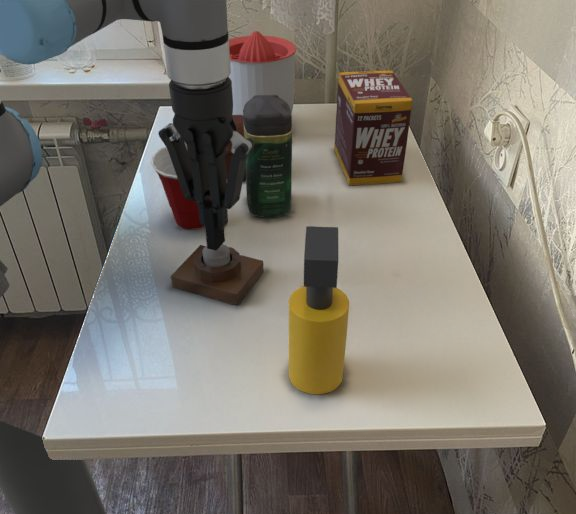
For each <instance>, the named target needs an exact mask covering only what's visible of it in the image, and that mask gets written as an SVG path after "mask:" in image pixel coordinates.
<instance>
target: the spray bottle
mask: <svg viewBox="0 0 576 514" xmlns="http://www.w3.org/2000/svg"><path fill="white" fill-rule="evenodd" d="M303 255H304V256H303V285H302V286H301V287H298V288H297V289H295V290H294V291H293V292H292V293H291V294H290V296H289V299H288V378H289V381H290V383H291V384H292V386H293V387H294V388H296V389H297V390H298V391H301V392H302V393H306V394H309V395H325V394H328V393H331V392H333V391H334V390H336V389H337V388H339V386H340V385H341V384H342V381H343V379H344V369H345V358H346V346H347V335H348V323H349V314H350V299H349V297H348V295H347V294H346V293H345V291H344V290H342V289H340V288H339V287H337V286H338V275H339V273H338V272H339V227H338V226H313V225H312V226H311V225H310V226H309V225H307V226H305V240H304V253H303Z"/></svg>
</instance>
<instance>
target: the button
mask: <svg viewBox="0 0 576 514" xmlns="http://www.w3.org/2000/svg"><path fill="white" fill-rule="evenodd" d="M205 246H206V247H205V248H204V249H203V261H204V264H205V265H206V266H209V267H223V266H225V265H227V264H229V263H230V249H229V247H230V246H228V245H226V244H225V243H223V244H222V245H221V246H220V247H219V248H218V250H217V251H215V250H211V249H207V245H205Z"/></svg>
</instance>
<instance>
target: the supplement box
mask: <svg viewBox="0 0 576 514" xmlns="http://www.w3.org/2000/svg"><path fill="white" fill-rule="evenodd" d="M336 95H337V96H336V110H335V111H336V113H335V129H334V149H333V151H334V153H335V155H336V158H337V160H338V163H339V166H340V167H341V170H342V173H343V175H344V177H345V180H346V183H347V185H348V186H361V185H362V186H364V185H377V184H379V185H380V184H394V183H402V181H403V174H404V166H405V160H406V152H407V145H408V136H409V130H410V121H411V115H412V107H413V101H414V100H413V99H412V97H411V96H410V94H409V93H408V92H407V90H406V89H405V88H404V86H403V83H401V82H400V80H399V79H398V77H397V76H396V75H395V73H394V71H393V70H365V71H364V70H363V71H344V72H342V71H340V72H338V79H337V94H336Z"/></svg>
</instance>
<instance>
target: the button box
mask: <svg viewBox="0 0 576 514" xmlns="http://www.w3.org/2000/svg"><path fill="white" fill-rule="evenodd" d="M206 246H207V245H202V244H200V245H199V246H198V247H197V248H196V249H195V250H194V251H193V252H192V253H191V254H190V255H189V256H188V257H187V258H186V259H185V260H184V261H183V262H182V263H181V265H180V266H179V267H177V269H176V270H175V271H174V272H173V273H172V274H171V275H170V280H171V286H172V289H176V290H180V291H183V292H186V293H187V292H188V293H191V294H194V295H198V296H201V297H205V298H208V299H212V300H216V301H220V302H223V303H226V304H229V305H233V306H237V307H238V306H239V305H240V304H241V303H242V301H243V300H244V298H245V297H246V296H247V295H248V293H249V292H250V291H251V290H252V288H253V287H254V285H256V283H257V282H258V281H259V279H260V278H261V277H262V275H263V274H264V272H265V271H264V270H265V269H264V268H265V267H264V260H262V259H258V258H254V257H251V256H246V255H243V254H242V255H241V254H240V252H239V251H237V250H236V249H235V248H234V247H232V246H228V247H229V249H230V263H229V264H227V265H225V266H223V267H209V266H206V265H205V264H204V261H203V249H204V248H205V247H206Z"/></svg>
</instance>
